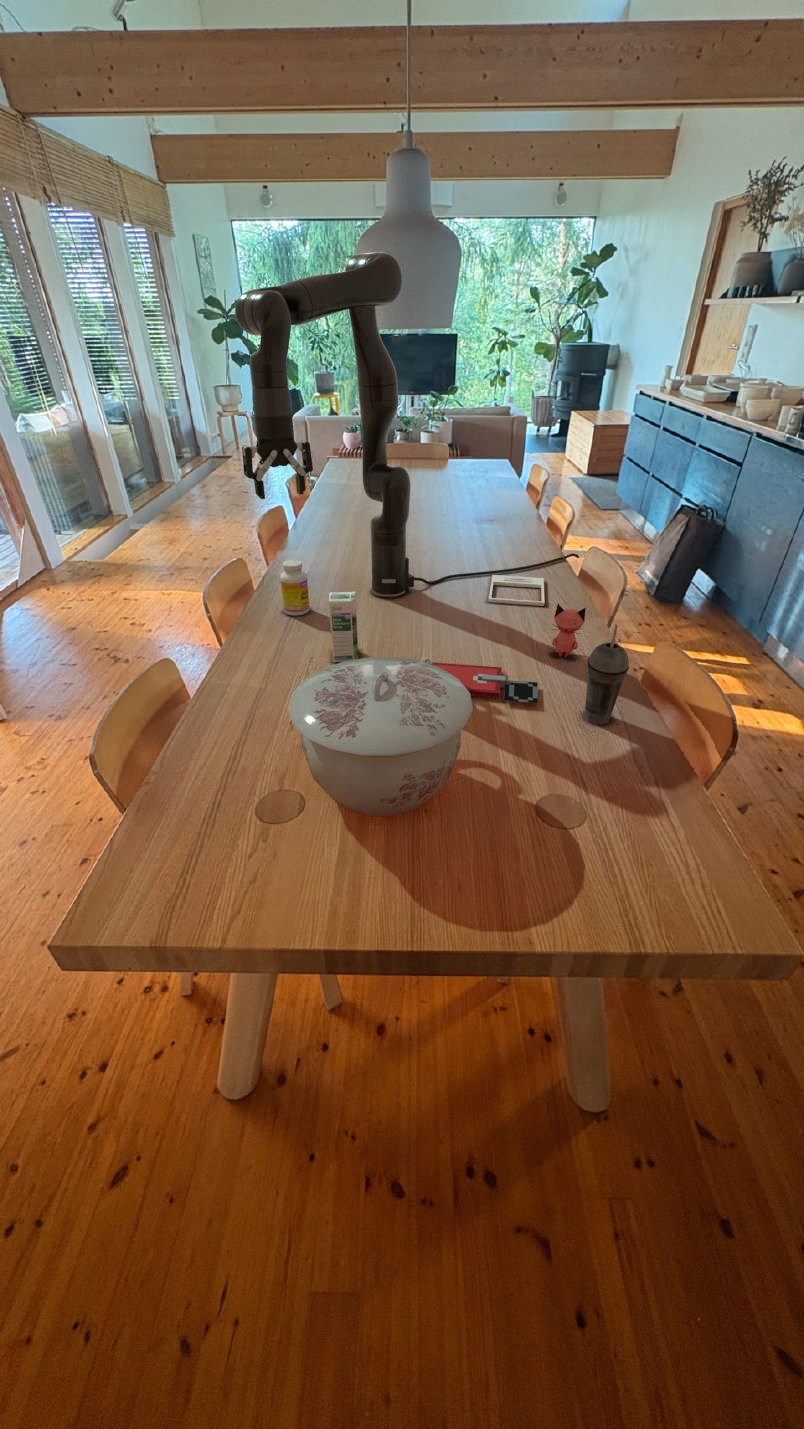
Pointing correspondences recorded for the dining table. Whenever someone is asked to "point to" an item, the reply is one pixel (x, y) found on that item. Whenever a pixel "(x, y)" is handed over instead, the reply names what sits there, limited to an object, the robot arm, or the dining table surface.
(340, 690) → the chamber pot
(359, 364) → the robot arm
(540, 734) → the dining table surface
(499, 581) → the photo frame
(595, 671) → the beverage cup
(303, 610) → the supplement bottle
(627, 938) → the dining table surface
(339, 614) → the syrup box
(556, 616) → the cat figurine
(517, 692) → the red board with handle
